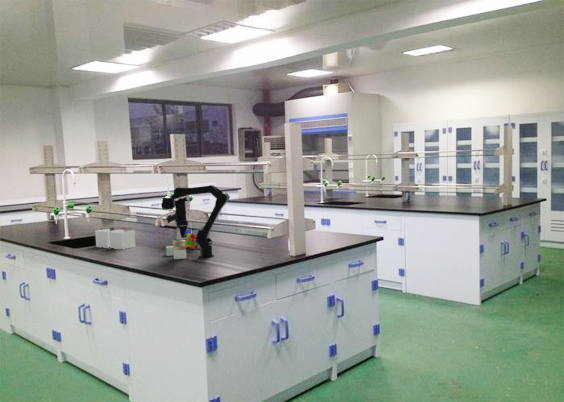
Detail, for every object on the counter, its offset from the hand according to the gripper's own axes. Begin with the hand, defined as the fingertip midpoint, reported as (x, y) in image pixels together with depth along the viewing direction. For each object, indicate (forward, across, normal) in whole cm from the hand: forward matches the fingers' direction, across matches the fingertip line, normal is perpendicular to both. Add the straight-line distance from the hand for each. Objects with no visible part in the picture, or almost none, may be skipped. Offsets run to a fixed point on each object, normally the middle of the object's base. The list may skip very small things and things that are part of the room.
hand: (182, 236), depth 283 cm
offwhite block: (+12, +3, -2) cm, 12 cm away
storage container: (+12, -54, -40) cm, 68 cm away
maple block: (+7, +3, -2) cm, 8 cm away
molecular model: (+12, -28, +7) cm, 31 cm away
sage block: (+12, -9, -6) cm, 16 cm away
